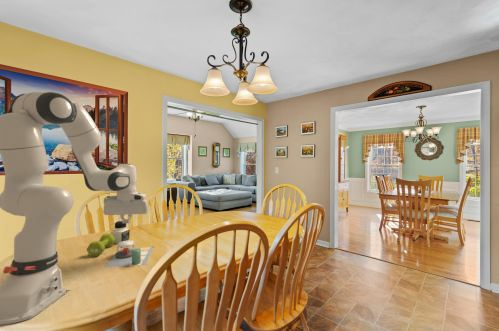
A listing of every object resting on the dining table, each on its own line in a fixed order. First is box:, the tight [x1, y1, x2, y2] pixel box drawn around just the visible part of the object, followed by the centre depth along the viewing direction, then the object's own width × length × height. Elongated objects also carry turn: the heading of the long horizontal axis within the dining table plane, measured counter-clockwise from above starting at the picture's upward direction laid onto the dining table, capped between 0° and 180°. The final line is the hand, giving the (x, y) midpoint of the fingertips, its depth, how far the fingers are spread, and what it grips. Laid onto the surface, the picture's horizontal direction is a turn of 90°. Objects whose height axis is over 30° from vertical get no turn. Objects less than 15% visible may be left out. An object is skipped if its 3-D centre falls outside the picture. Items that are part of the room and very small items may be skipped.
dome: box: [116, 240, 135, 253], centre depth 119 cm, size 7×7×3 cm
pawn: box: [132, 249, 141, 266], centre depth 110 cm, size 4×4×6 cm
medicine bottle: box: [110, 220, 131, 245], centre depth 140 cm, size 7×7×12 cm
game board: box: [104, 246, 155, 268], centre depth 118 cm, size 23×17×4 cm
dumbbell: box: [86, 233, 115, 257], centre depth 126 cm, size 16×8×7 cm, turn 7°
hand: (126, 223), depth 119 cm, fingers closed
